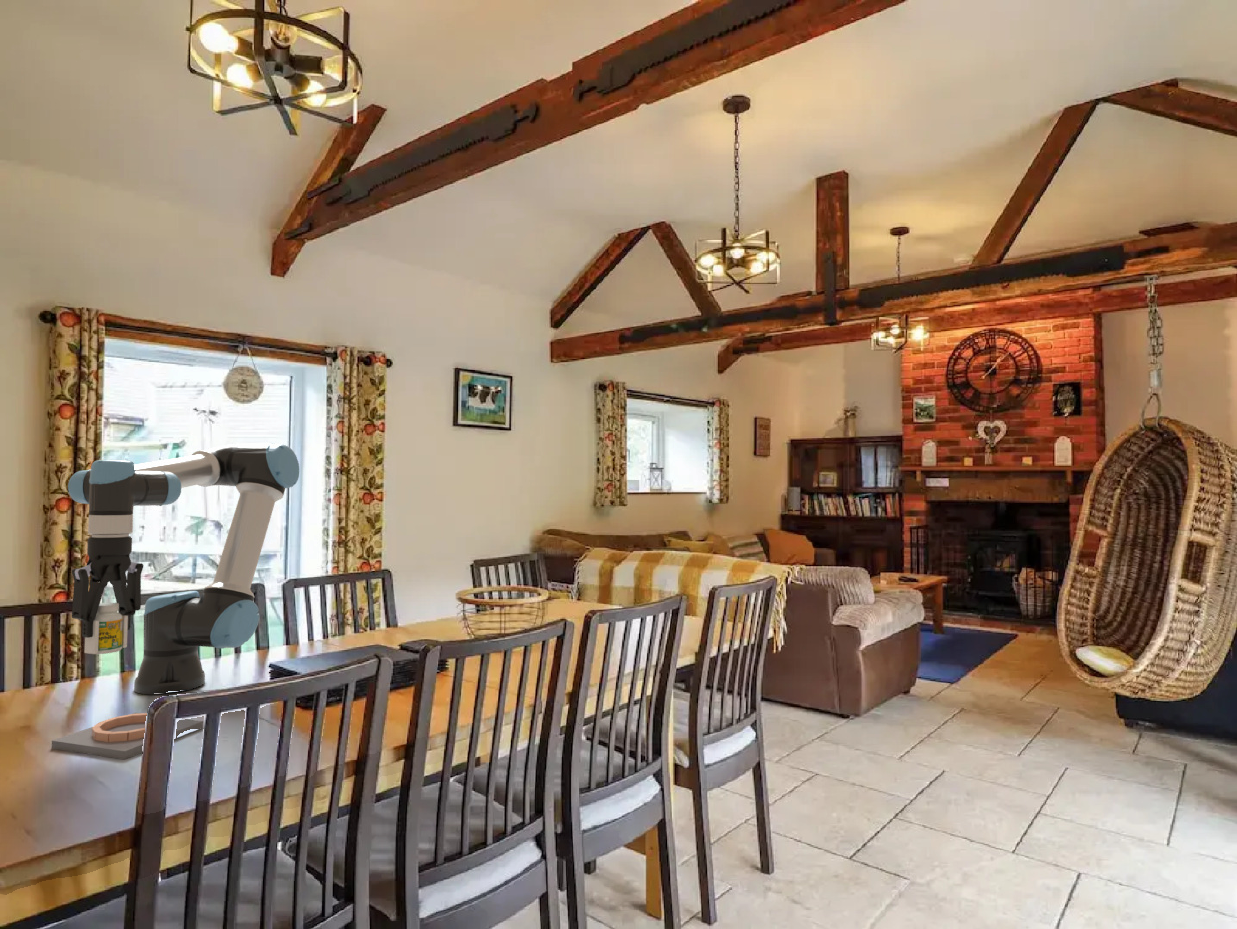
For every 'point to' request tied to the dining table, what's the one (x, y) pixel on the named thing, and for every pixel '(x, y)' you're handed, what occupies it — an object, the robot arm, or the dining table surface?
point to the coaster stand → (115, 736)
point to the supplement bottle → (109, 628)
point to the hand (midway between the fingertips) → (106, 649)
